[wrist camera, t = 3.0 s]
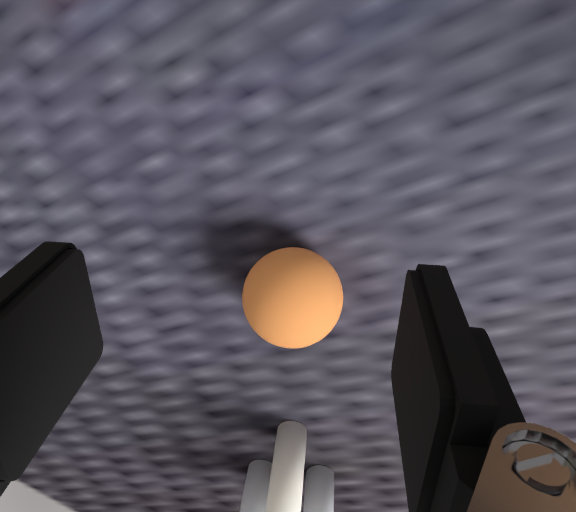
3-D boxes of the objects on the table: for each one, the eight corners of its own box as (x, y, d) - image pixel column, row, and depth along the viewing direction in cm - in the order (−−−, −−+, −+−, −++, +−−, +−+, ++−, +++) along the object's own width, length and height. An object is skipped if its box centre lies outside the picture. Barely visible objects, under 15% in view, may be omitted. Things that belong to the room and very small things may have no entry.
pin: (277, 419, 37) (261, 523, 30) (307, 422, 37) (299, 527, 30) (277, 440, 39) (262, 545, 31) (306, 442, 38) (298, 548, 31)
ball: (250, 227, 30) (230, 277, 24) (346, 233, 29) (347, 285, 24) (252, 306, 32) (235, 365, 27) (339, 312, 32) (339, 374, 27)
